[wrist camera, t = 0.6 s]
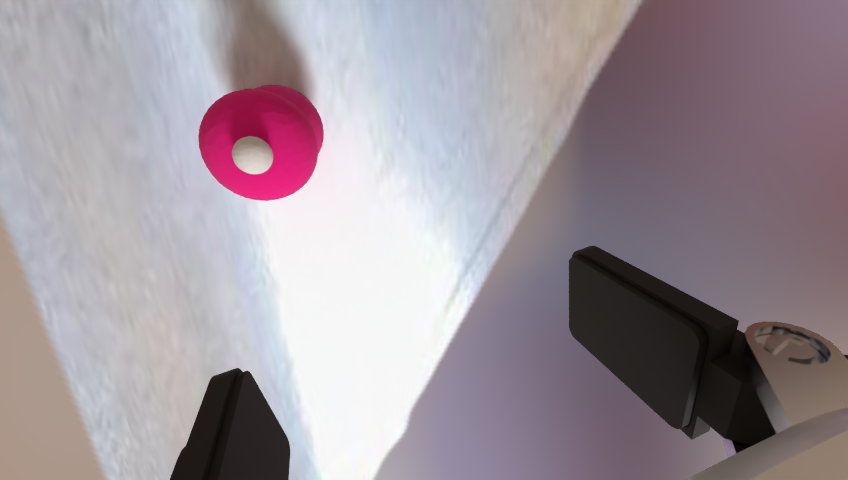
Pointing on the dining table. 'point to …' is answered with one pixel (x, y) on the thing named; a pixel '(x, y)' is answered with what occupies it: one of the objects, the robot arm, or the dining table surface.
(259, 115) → the pepper mill
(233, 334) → the dining table surface
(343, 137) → the dining table surface
